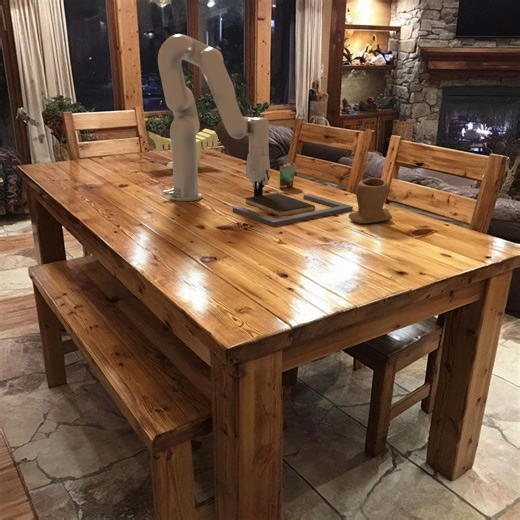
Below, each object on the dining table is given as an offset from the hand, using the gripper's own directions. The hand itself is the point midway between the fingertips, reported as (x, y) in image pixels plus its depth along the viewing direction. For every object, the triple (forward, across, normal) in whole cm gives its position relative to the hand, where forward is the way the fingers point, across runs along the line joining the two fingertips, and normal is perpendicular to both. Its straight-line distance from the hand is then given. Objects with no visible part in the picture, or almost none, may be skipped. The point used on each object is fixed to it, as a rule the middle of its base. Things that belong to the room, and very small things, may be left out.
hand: (258, 197), depth 220 cm
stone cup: (+1, +48, +13) cm, 50 cm away
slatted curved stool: (+1, -75, +10) cm, 76 cm away
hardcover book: (+1, +13, 0) cm, 13 cm away
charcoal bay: (+1, +21, 0) cm, 21 cm away
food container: (+1, -10, +24) cm, 26 cm away
